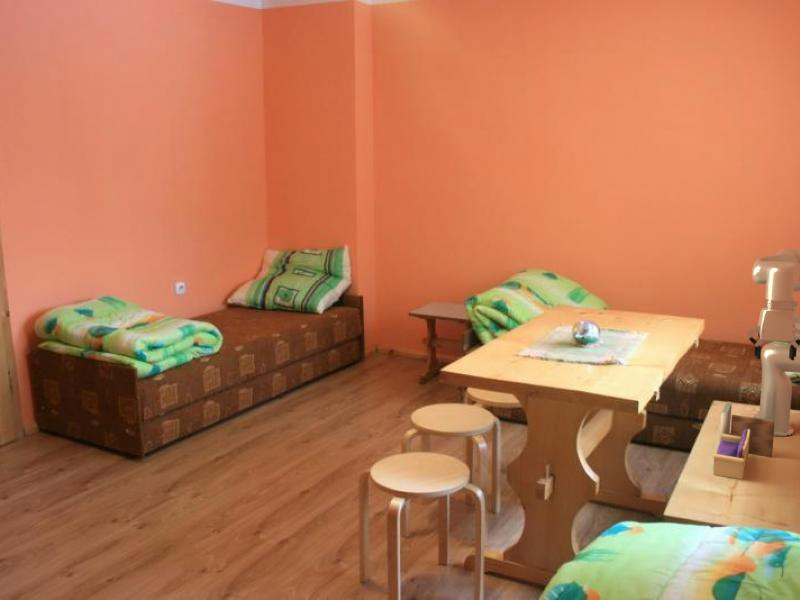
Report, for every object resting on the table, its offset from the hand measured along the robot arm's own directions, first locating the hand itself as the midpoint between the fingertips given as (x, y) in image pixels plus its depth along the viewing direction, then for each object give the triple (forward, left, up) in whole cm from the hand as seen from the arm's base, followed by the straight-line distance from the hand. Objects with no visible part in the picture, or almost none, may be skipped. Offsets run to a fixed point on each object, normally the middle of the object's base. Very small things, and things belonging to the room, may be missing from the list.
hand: (774, 358), depth 224 cm
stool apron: (-5, -2, -33) cm, 34 cm away
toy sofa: (+2, -15, -34) cm, 37 cm away
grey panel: (-18, -2, -33) cm, 37 cm away
